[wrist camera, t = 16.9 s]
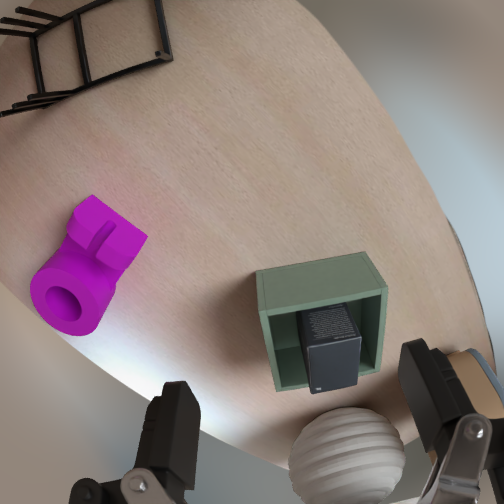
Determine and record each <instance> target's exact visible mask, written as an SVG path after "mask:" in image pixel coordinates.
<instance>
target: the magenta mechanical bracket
mask: <svg viewBox="0 0 504 504" xmlns="http://www.w3.org/2000/svg"><path fill="white" fill-rule="evenodd" d="M66 229H67V232H68V233H67V235H66V237H65V239H64V241H63V243H62V245H61V247H60V248H59V249H58V250H57V251H56V252H55V253H54V255H53V256H52V257H51V258H50V259H49V260H48V261H47V262H46V263H45V264H44V265H43V266H42V267H41V269H40V270H39V271H38V272H37V273H36V274H35V275H34V277H33V278H32V281H31V285H30V294H31V298H32V301H33V304H34V306H35V308H36V310H37V311H38V313H39V314H40V315H41V317H42V318H43V319H44V320H45V321H46V322H47V323H48V324H50V325H51V326H52V327H54V328H55V329H57V330H59V331H60V332H63V333H65V334H68V335H72V336H84V335H88V334H90V333H92V332H93V331H94V330H95V329H96V328H97V326H98V324H99V322H100V320H101V318H102V316H103V314H104V312H105V310H106V308H107V306H108V305H109V303H110V301H111V299H112V297H113V295H114V293H115V289H116V282H117V281H118V280H119V278H120V277H121V275H122V274H123V272H124V271H125V269H127V268H128V267H129V265H130V264H131V263H132V261H133V260H134V258H135V257H136V256H137V254H138V253H139V251H140V249H141V247H142V246H143V244H144V242H145V241H146V239H147V237H148V236H147V235H146V234H144V233H143V232H142V231H140V230H139V229H138V228H136V227H135V226H134V225H132V224H131V223H130V222H128V221H127V220H126V219H124V218H123V217H121V216H120V215H119V214H117V213H116V212H115V211H113V210H112V209H111V208H110V207H108V206H107V205H106V204H104V203H103V202H102V201H100V200H99V199H98V198H96V197H95V196H94V195H91V196H90V197H88V198H87V199H86V200H85V201H83V202H82V203H81V204H80V205H78V206H77V207H76V208H75V210H74V212H73V213H72V215H71V217H70V219H69V221H68V223H67V226H66Z"/></svg>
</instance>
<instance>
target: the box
mask: <svg viewBox="0 0 504 504" xmlns="http://www.w3.org/2000/svg"><path fill="white" fill-rule="evenodd" d="M296 320H297V329H298V337H299V341H300V346H301V351H302V355H303V360H304V364H305V369H306V374H307V378H308V384H309V388H310V392H311V394H316V393H320V392H326V391H331V390H337V389H341V388H346V387H350V386H354V385H357V381H358V371H359V360H360V348H361V335H360V333H359V331H358V328H357V326H356V324H355V322H354V319H353V317H352V315H351V312H350V310H349V308H348V306H347V303H346V302H342V303H337V304H332V305H327V306H322V307H316V308H311V309H305V310H300V311H296Z"/></svg>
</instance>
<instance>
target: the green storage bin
mask: <svg viewBox="0 0 504 504" xmlns="http://www.w3.org/2000/svg"><path fill="white" fill-rule="evenodd" d="M256 286H257V301H258V313H259V317H260V322H261V326H262V331H263V335H264V340H265V344H266V349H267V353H268V358H269V362H270V367H271V371H272V376H273V380H274V385H275V389H276V392H281V391H287V390H294V389H300V388H305V387H309V384H308V378H307V374H306V369H305V364H304V360H303V355H302V351H301V346H300V341H299V337H298V329H297V320H296V311H300V310H305V309H311V308H316V307H322V306H327V305H332V304H337V303H342V302H346V303H347V306H348V308H349V310H350V312H351V315H352V317H353V319H354V322H355V324H356V326H357V328H358V331H359V333H360V335H361V348H360V360H359V371H358V377H359V376H363V375H367V374H371V373H375V372H379V371H380V365H381V358H382V350H383V342H384V333H385V323H386V311H387V299H388V286H387V284H386V282H385V281H384V279H383V278H382V276H381V275H380V273H379V272H378V270H377V269H376V267H375V266H374V264H373V263H372V261H371V260H370V258H369V257H368V255H367V254H366V252H360V253H355V254H349V255H344V256H338V257H333V258H327V259H322V260H316V261H311V262H305V263H299V264H294V265H288V266H282V267H276V268H271V269H265V270H259V271H256Z"/></svg>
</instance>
